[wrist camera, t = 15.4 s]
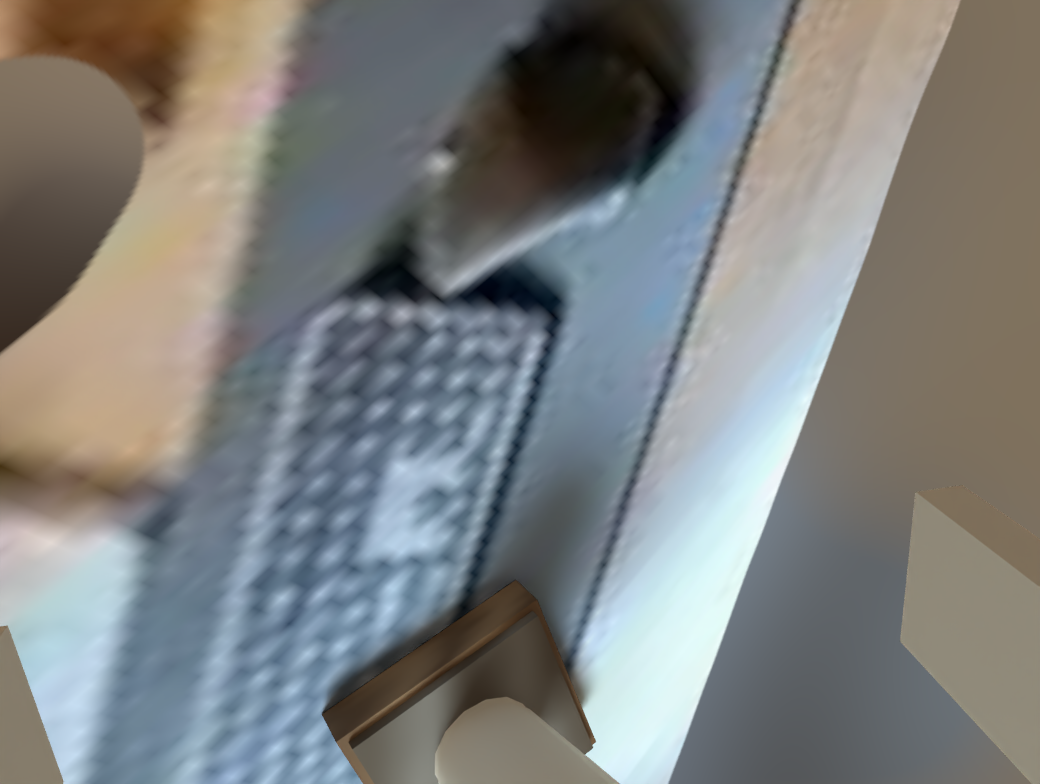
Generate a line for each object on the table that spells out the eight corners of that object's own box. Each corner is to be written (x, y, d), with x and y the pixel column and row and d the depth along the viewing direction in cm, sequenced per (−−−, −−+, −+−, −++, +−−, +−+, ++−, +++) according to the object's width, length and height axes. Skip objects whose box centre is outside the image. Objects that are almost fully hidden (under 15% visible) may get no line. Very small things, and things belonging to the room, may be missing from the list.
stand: (515, 579, 49) (542, 604, 47) (575, 719, 55) (601, 747, 53) (321, 714, 45) (339, 749, 42) (409, 849, 51) (429, 887, 49)
